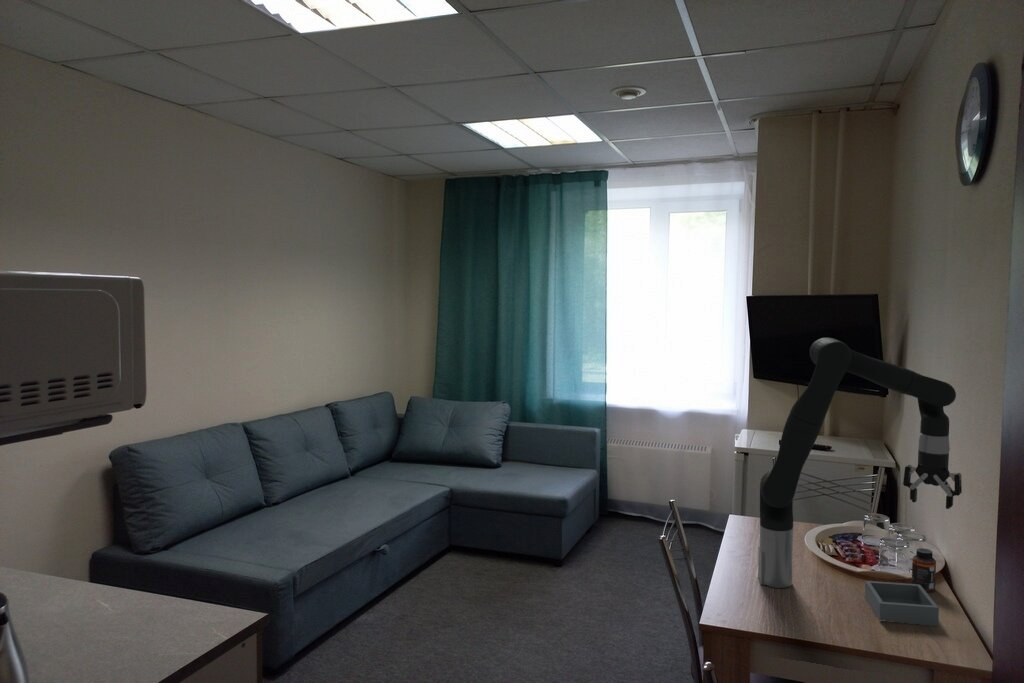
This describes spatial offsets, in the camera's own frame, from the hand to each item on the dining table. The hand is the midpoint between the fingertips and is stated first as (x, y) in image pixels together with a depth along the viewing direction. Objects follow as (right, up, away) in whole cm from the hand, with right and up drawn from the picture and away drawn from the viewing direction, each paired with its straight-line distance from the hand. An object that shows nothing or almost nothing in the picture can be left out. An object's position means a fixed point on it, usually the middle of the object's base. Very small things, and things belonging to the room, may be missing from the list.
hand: (931, 505), depth 202 cm
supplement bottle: (-1, -25, +2) cm, 25 cm away
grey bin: (-15, -26, -11) cm, 32 cm away
